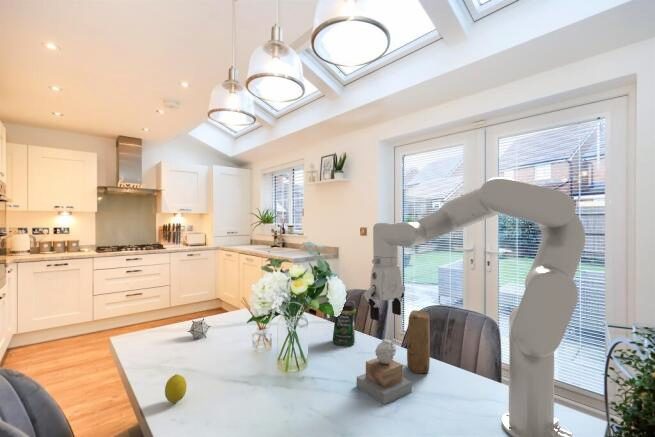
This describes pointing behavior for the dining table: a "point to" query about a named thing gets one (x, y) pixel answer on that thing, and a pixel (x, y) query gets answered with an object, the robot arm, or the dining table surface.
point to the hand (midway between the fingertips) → (385, 316)
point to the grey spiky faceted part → (199, 329)
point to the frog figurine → (385, 351)
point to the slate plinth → (381, 393)
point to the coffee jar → (345, 325)
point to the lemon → (175, 388)
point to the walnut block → (384, 372)
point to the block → (418, 342)
